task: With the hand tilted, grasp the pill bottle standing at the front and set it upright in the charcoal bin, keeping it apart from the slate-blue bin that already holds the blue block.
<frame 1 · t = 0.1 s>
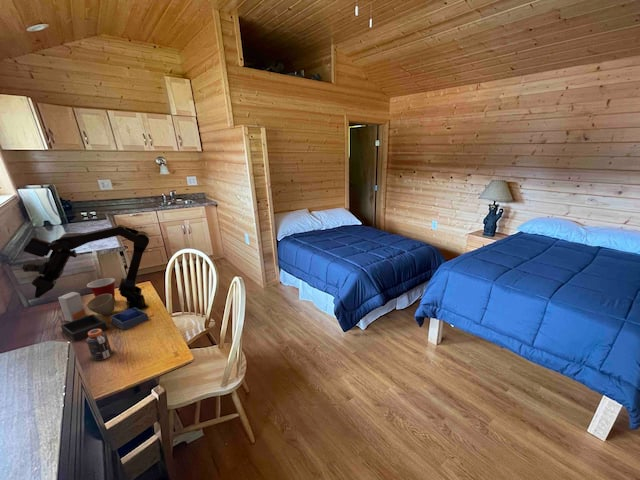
hand: (39, 292, 126), 15 cm above the table, tool tilted 35°, fingers open, 9 cm apart
blue bin: (130, 321, 137), on the table
blue block: (129, 316, 136), in the blue bin
cosmetic box: (76, 318, 137), on the table
plastic cup: (107, 303, 150), on the table
pill bottle: (102, 356, 116), on the table
charcoal bin: (85, 330, 129), on the table
gray bowl: (108, 311, 142), point 1 cm above the table
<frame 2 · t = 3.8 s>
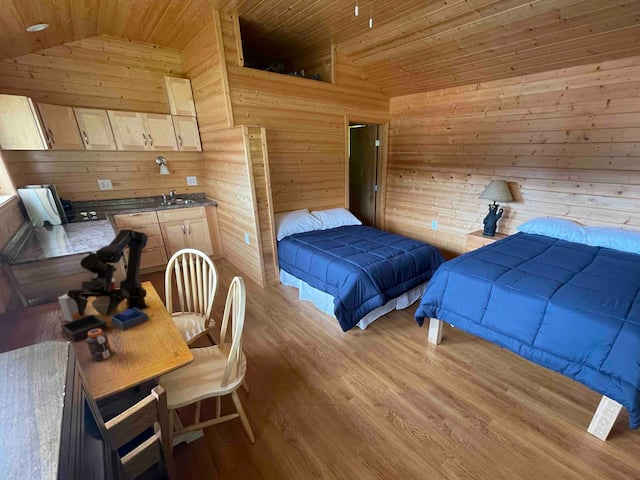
hand: (94, 315, 117), 14 cm above the table, tool tilted 45°, fingers open, 9 cm apart
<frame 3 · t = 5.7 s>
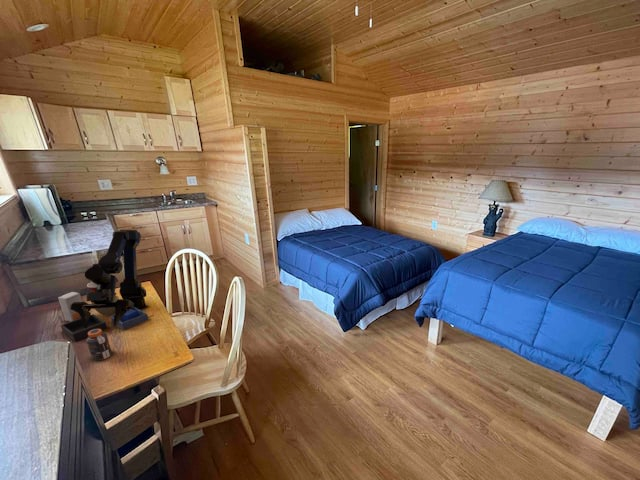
hand: (100, 327, 115), 11 cm above the table, tool tilted 45°, fingers open, 9 cm apart
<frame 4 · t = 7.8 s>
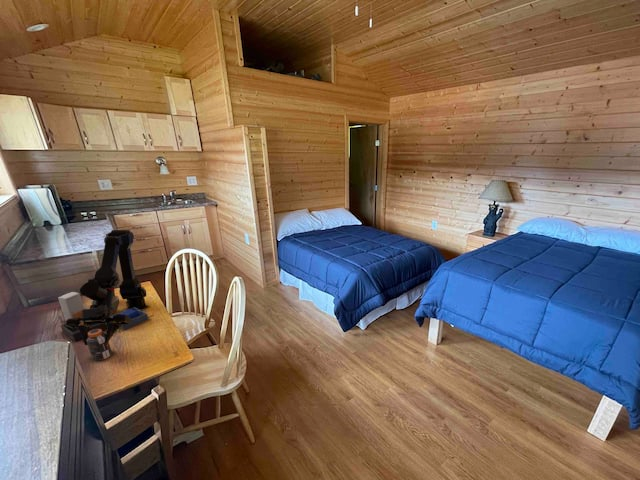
hand: (96, 344, 112), 7 cm above the table, tool tilted 45°, fingers closed on pill bottle, 6 cm apart
pill bottle: (102, 356, 116), on the table, touching gripper
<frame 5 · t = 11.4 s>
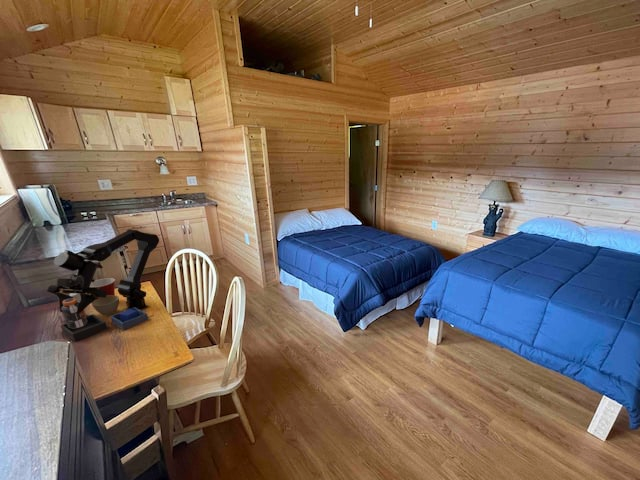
hand: (69, 312, 116), 14 cm above the table, tool tilted 45°, fingers closed on pill bottle, 6 cm apart
pill bottle: (78, 325, 120), point 7 cm above the table, touching gripper
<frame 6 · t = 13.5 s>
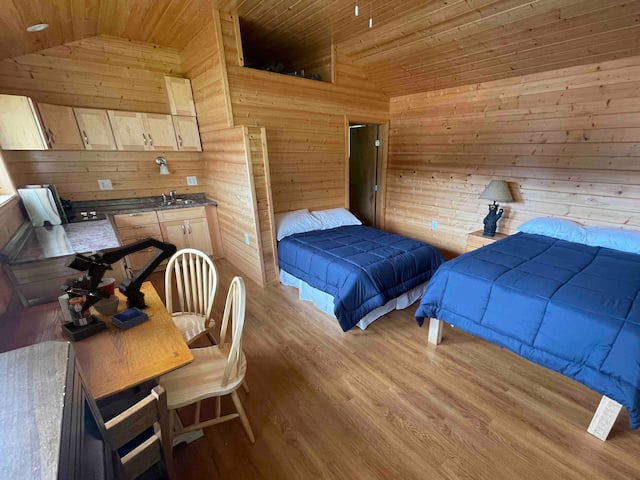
hand: (75, 310, 124), 11 cm above the table, tool tilted 45°, fingers closed on pill bottle, 6 cm apart
pill bottle: (83, 322, 128), point 4 cm above the table, touching gripper
when the fingers open (7 cm above the table, at t = 15.1 s): pill bottle stays where it is, resting on charcoal bin.
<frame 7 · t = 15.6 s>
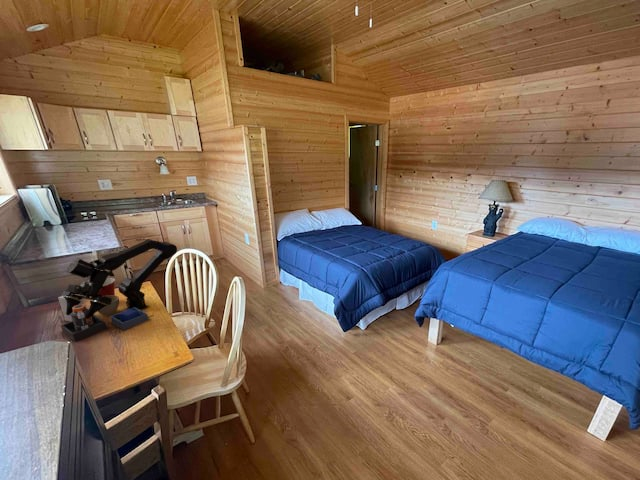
hand: (77, 316, 125), 8 cm above the table, tool tilted 45°, fingers open, 9 cm apart
pill bottle: (85, 329, 129), resting on charcoal bin
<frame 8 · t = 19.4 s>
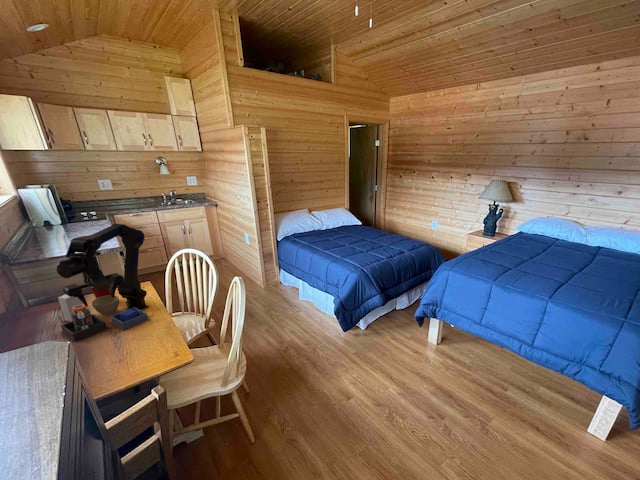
hand: (100, 302, 127), 13 cm above the table, tool pointing down, fingers open, 9 cm apart
at the end: pill bottle inside the target area in the charcoal bin (0.2 cm from its centre), point 0.3 cm above the charcoal bin's base; pill bottle tilted 0°; blue block inside the target area in the blue bin (0.0 cm from its centre), point 2.7 cm above the blue bin's base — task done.
